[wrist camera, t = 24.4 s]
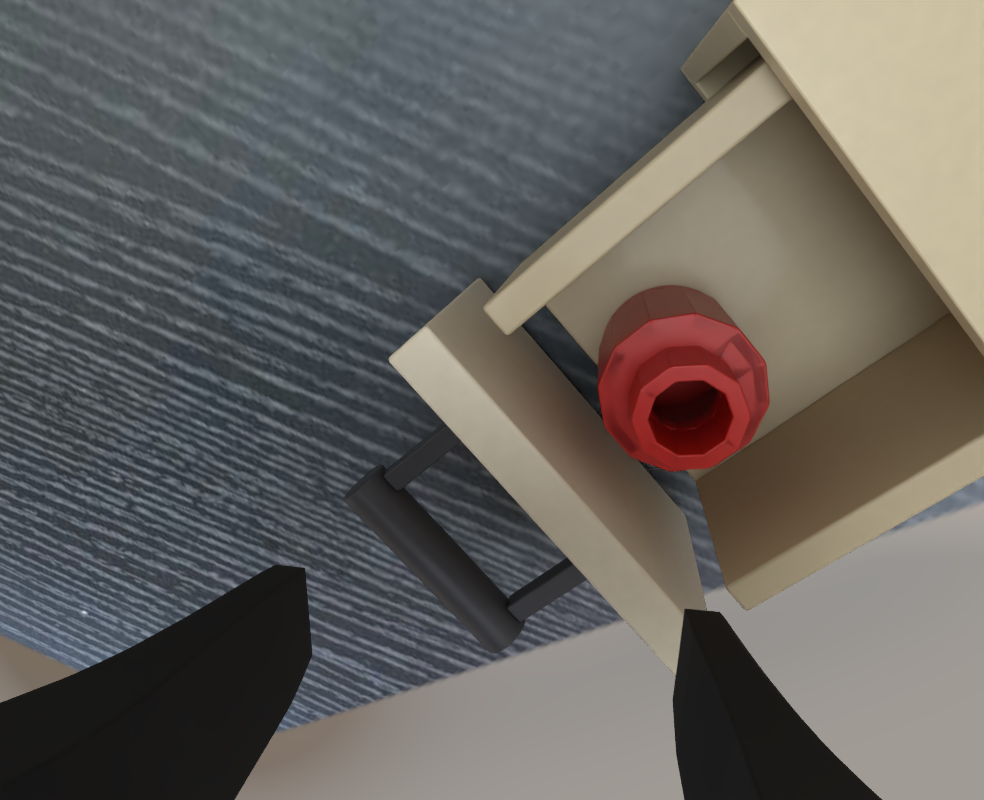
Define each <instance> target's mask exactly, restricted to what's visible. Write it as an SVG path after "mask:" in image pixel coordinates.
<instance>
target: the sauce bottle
mask: <svg viewBox="0 0 984 800" xmlns="http://www.w3.org/2000/svg"><path fill="white" fill-rule="evenodd" d="M598 394H599V400H600V406H601V412H602V418H603V424H604V426H605V428H606V430H607V431H608V432H609V433H610V434H611V435H612V436H613V438H614V439H615V440H616V441H617V442H618V443H619V445H620V446H621V447H622V448H623V449H624V450H625V451H626V453H627V454H628V455H629V456H630V457H632V458H634V459H637V460H639V461H642V462H645V463H648V464H650V465H653V466H656V467H658V468H661V469H664V470H667V471H671V472H673V471H682V470H690V469H708V468H711V467H713V466H715V465H717V464H719V463H720V462H722V461H723V460H725V459H726V458H728V457H729V456H731V455H732V454H734V453H735V452H737V451H738V450H740V449H741V448H743V447H744V446H746V445H747V444H749V442H750V441H751V440H752V438H753V436H754V434H755V432H756V430H757V428H758V426H759V425H760V423H761V421H762V419H763V417H764V415H765V413H766V411H767V409H768V407H769V403H770V398H769V387H768V375H767V364H766V362H765V360H764V358H763V357H762V356H761V355H760V353H759V352H758V351H757V350H756V348H755V347H754V346H753V345H752V343H751V342H750V341H749V340H748V338H747V337H746V336H745V335H744V333H743V332H742V331H741V330H740V328H739V327H738V326H737V325H736V324H735V322H734V321H733V320H732V319H731V318H730V316H729V315H728V314H727V313H726V312H725V310H724V309H723V308H722V307H721V305H720V304H719V303H718V302H717V301H716V299H714V298H713V297H710V296H707V295H706V294H704V293H702V292H700V291H698V290H695V289H692V288H689V287H684V286H676V285H667V286H658V287H654V288H650V289H647V290H645V291H642V292H640V293H638V294H636V295H634V296H633V297H631V298H630V299H628V300H627V301H626V302H625V303H623V304H622V305H621V306H620V307H619V308H618V309H617V311H616V312H615V313H614V314H613V316H612V317H611V319H610V320H609V322H608V324H607V326H606V328H605V331H604V334H603V337H602V341H601V344H600V346H599V361H598Z"/></svg>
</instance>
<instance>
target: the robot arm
mask: <svg viewBox="0 0 984 800" xmlns="http://www.w3.org/2000/svg"><path fill="white" fill-rule="evenodd" d="M311 657H312V645H311V633H310V622H309V610H308V598H307V587H306V575H305V568H300V567H291V566H282V565H274V566H272V567H270V568H269V569H267V570H265V571H263V572H261V573H259V574H258V575H256V576H254V577H253V578H251V579H249V580H247V581H246V582H244V583H242V584H241V585H239V586H237V587H236V588H234V589H233V590H231V591H229V592H228V593H226V594H224V595H223V596H221V597H219V598H218V599H216V600H214V601H213V602H211V603H209V604H208V605H206V606H204V607H203V608H201V609H199V610H197V611H196V612H194V613H192V614H191V615H189V616H187V617H186V618H184V619H182V620H180V621H178V622H177V623H175V624H173V625H171V626H169V627H168V628H166V629H164V630H162V631H160V632H158V633H157V634H155V635H153V636H151V637H149V638H147V639H146V640H144V641H142V642H140V643H138V644H136V645H135V646H133V647H131V648H129V649H127V650H125V651H123V652H121V653H119V654H117V655H115V656H112V657H110V658H108V659H106V660H104V661H102V662H100V663H97V664H95V665H93V666H91V667H89V668H86V669H84V670H82V671H80V672H78V673H75V674H73V675H71V676H69V677H66V678H64V679H61V680H59V681H56V682H53V683H51V684H48V685H46V686H43V687H40V688H38V689H35V690H33V691H30V692H27V693H25V694H22V695H20V696H17V697H15V698H12V699H9V700H7V701H4V702H1V703H0V800H235V798H236V796H237V795H238V793H239V791H240V789H241V788H242V786H243V785H244V783H245V781H246V779H247V778H248V776H249V774H250V773H251V771H252V769H253V768H254V766H255V764H256V763H257V761H258V759H259V758H260V756H261V754H262V753H263V751H264V749H265V748H266V746H267V744H268V743H269V741H270V739H271V738H272V736H273V734H274V733H275V731H276V729H277V727H278V726H279V724H280V722H281V721H282V719H283V717H284V715H285V714H286V712H287V710H288V708H289V707H290V705H291V703H292V701H293V699H294V697H295V694H296V692H297V690H298V688H299V685H300V683H301V681H302V679H303V676H304V674H305V671H306V669H307V666H308V664H309V662H310V659H311ZM673 712H674V727H675V741H676V754H677V760H678V766H679V772H680V777H681V783H682V788H683V794H684V799H685V800H882V799H881V798H879V796H877V795H876V794H875V793H874V792H873V791H872V790H871V789H870V788H869V787H868V786H866V785H865V784H864V783H863V782H862V781H861V780H860V779H859V778H858V777H857V776H856V775H855V774H854V773H853V772H852V771H851V770H850V769H849V768H848V767H847V766H846V765H845V764H843V762H842V761H840V760H839V758H837V757H836V756H835V755H834V753H833V752H831V750H830V749H829V748H828V747H827V746H826V745H825V744H824V743H823V742H822V741H821V740H820V739H819V738H818V737H817V735H816V734H815V733H814V732H813V731H812V730H811V729H810V728H809V726H808V725H807V724H806V723H805V722H804V721H803V720H802V719H801V718H800V716H799V715H798V714H797V713H796V712H795V711H794V709H793V708H792V707H791V706H790V704H789V703H788V702H787V701H786V699H785V698H784V697H783V696H782V694H781V693H780V692H779V691H778V690H777V688H776V687H775V686H774V685H773V683H772V682H771V681H770V679H769V678H768V677H767V676H766V674H765V673H764V672H763V670H762V669H761V668H760V667H759V666H758V664H757V662H756V661H755V660H754V658H753V657H752V656H751V654H750V653H749V652H748V650H747V649H746V648H745V646H744V645H743V643H742V642H741V640H740V639H739V638H738V636H737V635H736V633H735V632H734V631H733V629H732V628H731V626H730V625H729V624H728V622H727V620H726V619H725V618H724V617H723V615H722V614H721V613H720V612H714V611H704V610H695V609H684V617H683V625H682V632H681V640H680V648H679V656H678V663H677V671H676V679H675V687H674V695H673Z"/></svg>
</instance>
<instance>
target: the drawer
mask: <svg viewBox="0 0 984 800" xmlns="http://www.w3.org/2000/svg"><path fill="white" fill-rule="evenodd" d="M667 285H676V286H684V287H689V288H692V289H695V290H698V291H700V292H702V293H704V294H706V295H707V296H710V297H713V298H714V299H716V301H717V302H718V303H719V304H720V305H721V307H722V308H723V309H724V310H725V312H726V313H727V314H728V315H729V316H730V318H731V319H732V320H733V321H734V322H735V324H736V325H737V326H738V327H739V328H740V330H741V331H742V332H743V333H744V335H745V336H746V337H747V338H748V340H749V341H750V342H751V343H752V345H753V346H754V347H755V348H756V350H757V351H758V352H759V353H760V355H761V356H762V357H763V358H764V360H765V362H766V364H767V375H768V387H769V398H770V403H769V407H768V409H767V411H766V413H765V415H764V417H763V419H762V421H761V423H760V425H759V426H758V428H757V430H756V432H755V434H754V436H753V438H752V440H751V441H750V442H749V444H747V445H746V446H744V447H743V448H741V449H740V450H738V451H737V452H735V453H734V454H732V455H731V456H729V457H728V458H726V459H725V460H723V461H722V462H720V463H719V464H717V465H715V466H713V467H711V468H708V469H690V470H686V471H687V472H688V474H689V475H690V476H691V477H692V478H693V479H694V481H695V482H696V485H697V488H698V492H699V495H700V499H701V502H702V506H703V509H704V513H705V516H706V520H707V523H708V527H709V530H710V534H711V537H712V541H713V544H714V548H715V551H716V555H717V558H718V562H719V565H720V569H721V572H722V576H723V579H724V582H725V586H726V589H727V590H728V591H729V592H730V594H731V595H732V596H733V597H734V598H735V599H736V601H737V602H738V603H739V604H740V605H741V606H742V608H743V609H745V610H750V609H751V608H753V607H755V606H757V605H758V604H760V603H762V602H764V601H765V600H767V599H769V598H771V597H772V596H774V595H776V594H778V593H780V592H781V591H783V590H785V589H786V588H788V587H790V586H792V585H793V584H795V583H797V582H799V581H800V580H802V579H804V578H806V577H807V576H809V575H811V574H813V573H815V572H816V571H818V570H820V569H822V568H823V567H825V566H827V565H829V564H830V563H832V562H834V561H835V560H837V559H839V558H841V557H843V556H844V555H846V554H848V553H850V552H851V551H853V550H855V549H856V548H858V547H860V546H862V545H864V544H865V543H867V542H869V541H871V540H872V539H874V538H876V537H878V536H879V535H881V534H883V533H885V532H886V531H888V530H890V529H892V528H893V527H895V526H897V525H899V524H900V523H902V522H904V521H906V520H907V519H909V518H911V517H913V516H914V515H916V514H918V513H920V512H921V511H923V510H925V509H927V508H928V507H930V506H932V505H934V504H935V503H937V502H939V501H941V500H942V499H944V498H946V497H948V496H949V495H951V494H953V493H955V492H956V491H958V490H960V489H962V488H963V487H965V486H967V485H969V484H970V483H972V482H974V481H976V480H978V479H979V478H981V477H983V476H984V356H983V355H982V354H981V352H980V351H979V350H978V348H977V347H976V345H975V344H974V343H973V341H972V340H971V339H970V337H969V336H968V335H967V333H966V332H965V331H964V329H963V328H962V326H961V325H960V324H959V322H958V321H957V320H956V318H955V317H954V316H953V314H952V313H951V312H950V310H949V309H948V308H947V306H946V305H945V303H944V302H943V301H942V299H941V298H940V297H939V295H938V294H937V293H936V291H935V290H934V289H933V287H932V286H931V285H930V283H929V282H928V280H927V279H926V278H925V276H924V275H923V274H922V272H921V271H920V270H919V268H918V267H917V266H916V264H915V263H914V261H913V260H912V259H911V257H910V256H909V255H908V253H907V252H906V251H905V249H904V248H903V247H902V245H901V244H900V243H899V241H898V240H897V238H896V237H895V236H894V234H893V233H892V232H891V230H890V229H889V228H888V226H887V225H886V224H885V222H884V221H883V220H882V218H881V217H880V215H879V214H878V213H877V211H876V210H875V209H874V207H873V206H872V205H871V203H870V202H869V201H868V199H867V198H866V196H865V195H864V194H863V192H862V191H861V190H860V188H859V187H858V186H857V184H856V183H855V182H854V180H853V179H852V178H851V176H850V175H849V173H848V172H847V171H846V169H845V168H844V167H843V165H842V164H841V163H840V161H839V160H838V159H837V157H836V156H835V155H834V153H833V152H832V150H831V149H830V148H829V146H828V145H827V144H826V142H825V141H824V140H823V138H822V137H821V136H820V134H819V133H818V132H817V130H816V129H815V127H814V126H813V125H812V123H811V122H810V121H809V119H808V118H807V117H806V115H805V114H804V113H803V111H802V110H801V108H800V107H799V106H798V104H797V103H796V102H795V100H794V99H793V98H792V96H791V95H790V94H789V92H788V91H787V90H786V88H785V87H784V85H783V84H782V83H781V81H780V80H779V79H778V77H777V76H776V75H775V73H774V72H773V71H772V69H771V68H770V67H769V65H768V64H767V62H766V61H765V60H764V58H763V57H762V56H761V54H759V55H758V56H757V57H756V58H755V59H754V60H753V61H751V62H750V63H749V64H748V65H747V66H746V67H745V68H743V69H742V70H741V71H740V72H739V73H738V74H737V75H735V76H734V77H733V78H732V79H731V80H730V81H729V82H727V83H726V84H725V85H724V86H723V87H722V88H721V89H719V90H718V91H717V92H716V93H715V94H714V95H713V96H711V97H710V98H709V99H708V100H707V101H706V102H705V103H704V104H702V105H701V106H700V107H699V108H698V109H697V110H696V111H694V112H693V113H692V114H691V115H690V116H689V117H688V118H686V119H685V120H684V121H683V122H682V123H681V124H680V125H678V126H677V127H676V128H675V129H674V130H673V131H672V132H670V133H669V134H668V135H667V136H666V137H665V138H664V139H662V140H661V141H660V142H659V143H658V144H657V145H656V146H654V147H653V148H652V149H651V150H650V151H649V152H648V153H646V154H645V155H644V156H643V157H642V158H641V159H640V160H638V161H637V162H636V163H635V164H634V165H633V166H632V167H630V168H629V169H628V170H627V171H626V172H625V173H624V174H622V175H621V176H620V177H619V178H618V179H617V180H616V181H614V182H613V183H612V184H611V185H610V186H609V187H608V188H606V189H605V190H604V191H603V192H602V193H601V194H600V195H598V196H597V197H596V198H595V199H594V200H593V201H592V202H590V203H589V204H588V205H587V206H586V207H585V208H584V209H582V210H581V211H580V212H579V213H578V214H577V215H576V216H574V217H573V218H572V219H571V220H570V221H569V222H568V223H566V224H565V225H564V226H563V227H562V228H561V229H560V230H558V231H557V232H556V233H555V234H554V235H553V236H552V237H550V238H549V239H548V240H547V241H546V242H545V243H544V244H542V245H541V246H540V247H539V248H538V249H537V250H536V251H534V252H533V253H532V254H531V255H530V256H529V257H528V258H526V259H525V260H524V261H523V262H522V263H521V264H520V265H519V266H518V267H517V268H516V269H515V270H514V272H513V273H512V274H511V275H510V276H509V277H508V279H507V280H506V281H505V282H504V283H503V284H502V286H501V287H500V288H499V289H498V290H497V291H496V292H495V294H494V293H493V292H492V291H491V290H490V289H489V287H488V286H487V285H486V284H485V283H484V282H483V280H482V279H480V278H478V279H476V280H475V281H474V282H473V283H472V284H471V285H470V286H469V287H467V288H466V289H465V290H464V291H463V292H462V293H461V294H460V295H458V296H457V297H456V298H455V299H454V300H453V301H452V302H451V303H449V304H448V305H447V306H446V307H445V308H444V309H443V310H442V311H440V312H439V313H438V314H437V315H436V316H435V317H434V318H433V319H431V320H430V321H429V322H428V323H427V324H426V325H425V326H424V327H422V328H421V329H420V330H419V331H418V332H417V333H416V334H415V335H413V336H412V337H411V338H410V339H409V340H408V341H407V342H406V343H404V344H403V345H402V346H401V347H400V348H399V349H398V350H397V351H395V352H394V353H393V354H392V355H391V356H390V357H389V362H390V363H391V364H392V365H393V366H394V367H395V369H396V370H397V371H398V372H399V373H400V374H401V375H402V376H403V377H404V378H405V380H406V381H407V382H408V383H409V384H410V385H411V386H412V387H413V388H414V389H415V391H416V392H417V393H418V394H419V395H420V396H421V397H422V398H423V399H424V400H425V402H426V403H427V404H428V405H429V406H430V407H431V408H432V409H433V410H434V411H435V413H436V414H437V415H438V416H439V417H440V418H441V419H442V420H443V421H444V423H443V424H442V425H440V426H439V427H438V428H437V429H436V430H434V431H433V432H432V433H431V434H429V435H428V436H427V437H426V438H425V439H423V440H422V441H421V442H420V443H418V444H417V445H416V446H415V447H413V448H412V449H411V450H410V451H409V452H407V453H406V454H405V455H404V456H402V457H401V458H400V459H399V460H397V461H396V462H395V463H394V464H393V465H391V466H390V467H389V468H388V470H387V469H386V468H385V467H384V466H383V465H382V464H380V465H378V466H376V467H375V468H373V469H372V470H371V471H370V472H368V473H367V474H366V475H365V476H364V477H363V478H362V479H360V480H359V481H358V482H357V483H356V484H355V485H354V486H353V487H352V488H351V489H350V490H349V492H348V493H347V494H346V495H345V497H344V501H345V502H346V503H347V504H348V506H349V507H350V508H351V509H352V510H353V511H354V512H355V513H356V514H357V515H358V516H359V517H360V518H361V519H362V520H363V521H364V522H365V523H366V524H367V525H368V526H369V527H370V528H371V529H372V530H373V532H374V533H375V534H376V535H377V536H378V537H379V538H380V539H381V540H382V541H383V542H384V543H385V544H386V545H387V546H388V547H389V548H390V549H391V550H392V551H393V552H394V553H395V554H396V555H397V557H398V558H399V559H400V560H401V561H402V562H403V563H404V564H405V565H406V566H407V567H408V568H409V569H410V570H411V571H412V572H413V573H414V574H415V575H416V576H417V577H418V578H419V579H420V580H421V581H422V583H423V584H424V585H425V586H426V587H427V588H428V589H429V590H430V591H431V592H432V593H433V594H434V595H435V596H436V597H437V598H438V599H439V600H440V601H441V602H442V603H443V604H444V605H445V606H446V607H447V609H448V610H449V611H450V612H451V613H452V614H453V615H454V616H455V617H456V618H457V619H458V620H459V621H460V622H461V623H462V624H463V625H464V626H465V627H466V628H467V629H468V630H469V631H470V632H471V633H472V635H473V636H474V637H475V638H476V639H477V640H478V641H479V642H480V643H481V644H482V645H483V646H484V647H485V648H486V649H487V650H488V651H489V652H490V653H497V652H500V651H502V650H504V649H505V648H506V647H508V646H509V645H510V644H511V643H512V642H513V641H514V640H515V639H516V638H517V636H518V635H519V634H520V632H521V631H522V629H523V627H524V624H525V619H526V618H528V617H529V616H531V615H532V614H534V613H535V612H537V611H539V610H540V609H542V608H543V607H545V606H546V605H548V604H549V603H551V602H552V601H554V600H556V599H557V598H559V597H560V596H562V595H563V594H565V593H566V592H568V591H570V590H571V589H573V588H574V587H576V586H577V585H579V584H580V583H582V582H583V581H585V580H588V581H589V582H590V583H591V584H592V585H593V586H594V587H595V588H596V589H597V591H598V592H599V593H600V594H601V595H602V596H603V597H604V598H605V599H606V600H607V602H608V603H609V604H610V605H611V606H612V607H613V608H614V609H615V610H616V611H617V613H618V614H619V615H620V616H621V617H622V618H623V619H624V620H625V621H626V622H627V624H628V625H629V626H630V627H631V628H632V629H633V630H634V631H635V632H636V633H637V635H638V636H639V637H640V638H641V639H642V640H643V641H644V642H645V643H646V644H647V646H648V647H649V648H650V649H651V650H652V651H653V652H654V653H655V654H656V655H657V657H658V658H659V659H660V660H661V661H662V662H663V663H664V664H665V665H666V666H667V668H668V669H669V670H670V671H671V672H672V673H673V674H674V675H675V676H676V671H677V663H678V656H679V648H680V640H681V632H682V625H683V617H684V609H695V610H704V611H707V608H706V603H705V599H704V595H703V590H702V586H701V581H700V577H699V573H698V568H697V564H696V560H695V555H694V551H693V547H692V542H691V538H690V534H689V529H688V525H687V520H686V516H685V515H684V513H683V512H682V511H681V510H680V509H679V508H678V506H677V505H676V504H675V503H674V502H673V501H672V499H671V498H670V497H669V496H668V495H667V494H666V493H665V491H664V490H663V489H662V488H661V487H660V486H659V484H658V483H657V482H656V481H655V480H654V479H653V477H652V476H651V475H650V474H649V473H648V472H647V471H646V469H645V468H644V467H643V466H642V465H641V464H640V462H639V461H638V460H637V459H634V458H632V457H630V456H629V455H628V454H627V453H626V451H625V450H624V449H623V448H622V447H621V446H620V445H619V443H618V442H617V441H616V440H615V439H614V438H613V436H612V435H611V434H610V433H609V432H608V431H607V430H606V428H605V426H604V424H603V420H602V418H601V417H600V416H599V415H598V414H597V413H596V411H595V410H594V409H593V408H592V407H591V406H590V404H589V403H588V402H587V401H586V400H585V399H584V398H583V396H582V395H581V394H580V393H579V392H578V391H577V389H576V388H575V387H574V386H573V385H572V384H571V382H570V381H569V380H568V379H567V378H566V377H565V376H564V374H563V373H562V372H561V371H560V370H559V369H558V367H557V366H556V365H555V364H554V363H553V362H552V360H551V359H550V358H549V357H548V356H547V355H546V353H545V352H544V351H543V350H542V349H541V348H540V347H539V345H538V344H537V343H536V342H535V341H534V340H533V338H532V337H531V336H530V335H529V334H528V333H527V331H526V330H525V329H524V328H523V327H522V326H521V325H522V324H523V323H524V322H526V321H527V320H528V319H529V318H530V317H532V316H533V315H534V314H535V313H536V312H538V311H539V310H540V309H541V308H542V307H543V306H546V307H547V308H548V309H549V310H550V311H551V313H552V314H553V315H554V316H555V317H556V319H557V320H558V321H559V322H560V323H561V324H562V326H563V327H564V328H565V329H566V330H567V331H568V333H569V334H570V335H571V336H572V337H573V338H574V340H575V341H576V342H577V343H578V344H579V346H580V347H581V348H582V349H583V350H584V351H585V353H586V354H587V355H588V356H589V357H590V358H591V360H592V361H593V362H594V363H595V364H596V365H597V367H598V361H599V346H600V344H601V341H602V337H603V334H604V331H605V328H606V326H607V324H608V322H609V320H610V319H611V317H612V316H613V314H614V313H615V312H616V311H617V309H618V308H619V307H620V306H621V305H622V304H623V303H625V302H626V301H627V300H628V299H630V298H631V297H633V296H634V295H636V294H638V293H640V292H642V291H645V290H647V289H650V288H654V287H658V286H667ZM460 442H463V443H464V444H465V446H466V447H467V448H468V449H469V450H470V451H471V452H472V453H473V454H474V455H475V457H476V458H477V459H478V460H479V461H480V462H481V463H482V464H483V465H484V466H485V467H486V469H487V470H488V471H489V472H490V473H491V474H492V475H493V476H494V477H495V478H496V480H497V481H498V482H499V483H500V484H501V485H502V486H503V487H504V488H505V489H506V491H507V492H508V493H509V494H510V495H511V496H512V497H513V498H514V499H515V500H516V502H517V503H518V504H519V505H520V506H521V507H522V508H523V509H524V510H525V511H526V513H527V514H528V515H529V516H530V517H531V518H532V519H533V520H534V521H535V522H536V524H537V525H538V526H539V527H540V528H541V529H542V530H543V531H544V532H545V533H546V535H547V536H548V537H549V538H550V539H551V540H552V541H553V542H554V543H555V544H556V546H557V547H558V548H559V549H560V550H561V551H562V552H563V553H564V554H565V555H566V557H567V558H566V559H565V560H563V561H562V562H560V563H559V564H557V565H556V566H554V567H553V568H551V569H550V570H548V571H547V572H545V573H544V574H542V575H541V576H539V577H538V578H536V579H535V580H533V581H532V582H530V583H529V584H527V585H526V586H524V587H523V588H521V589H520V590H518V591H517V592H515V593H514V594H512V595H511V596H510V597H509V599H508V598H507V597H506V595H505V594H504V593H503V592H502V591H501V590H500V589H499V588H498V587H497V586H496V585H495V584H494V583H493V582H492V581H491V579H490V578H489V577H488V576H487V575H486V574H485V573H484V572H483V571H482V570H481V569H480V568H479V567H478V566H477V565H476V564H475V562H474V561H473V560H472V559H471V558H470V557H469V556H468V555H467V554H466V553H465V552H464V551H463V550H462V549H461V548H460V546H459V545H458V544H457V543H456V542H455V541H454V540H453V539H452V538H451V537H450V536H449V535H448V534H447V533H446V532H445V531H444V529H443V528H442V527H441V526H440V525H439V524H438V523H437V522H436V521H435V520H434V519H433V518H432V517H431V516H430V515H429V513H428V512H427V511H426V510H425V509H424V508H423V507H422V506H421V505H420V504H419V503H418V502H417V501H416V500H415V499H414V498H413V496H412V495H411V494H410V493H409V492H408V491H407V490H406V489H405V488H404V487H405V486H406V485H407V484H409V483H410V482H411V481H412V480H414V479H415V478H416V477H417V476H419V475H420V474H421V473H422V472H424V471H425V470H426V469H427V468H429V467H430V466H431V465H433V464H434V463H435V462H436V461H438V460H439V459H440V458H441V457H443V456H444V455H445V454H446V453H448V452H449V451H450V450H451V449H453V448H454V447H455V446H457V445H458V444H459V443H460Z"/></svg>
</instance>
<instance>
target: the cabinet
mask: <svg viewBox="0 0 984 800" xmlns="http://www.w3.org/2000/svg"><path fill="white" fill-rule="evenodd" d="M759 54H761V56H762V57H763V58H764V60H765V61H766V62H767V64H768V65H769V67H770V68H771V69H772V71H773V72H774V73H775V75H776V76H777V77H778V79H779V80H780V81H781V83H782V84H783V85H784V87H785V88H786V90H787V91H788V92H789V94H790V95H791V96H792V98H793V99H794V100H795V102H796V103H797V104H798V106H799V107H800V108H801V110H802V111H803V113H804V114H805V115H806V117H807V118H808V119H809V121H810V122H811V123H812V125H813V126H814V127H815V129H816V130H817V132H818V133H819V134H820V136H821V137H822V138H823V140H824V141H825V142H826V144H827V145H828V146H829V148H830V149H831V150H832V152H833V153H834V155H835V156H836V157H837V159H838V160H839V161H840V163H841V164H842V165H843V167H844V168H845V169H846V171H847V172H848V173H849V175H850V176H851V178H852V179H853V180H854V182H855V183H856V184H857V186H858V187H859V188H860V190H861V191H862V192H863V194H864V195H865V196H866V198H867V199H868V201H869V202H870V203H871V205H872V206H873V207H874V209H875V210H876V211H877V213H878V214H879V215H880V217H881V218H882V220H883V221H884V222H885V224H886V225H887V226H888V228H889V229H890V230H891V232H892V233H893V234H894V236H895V237H896V238H897V240H898V241H899V243H900V244H901V245H902V247H903V248H904V249H905V251H906V252H907V253H908V255H909V256H910V257H911V259H912V260H913V261H914V263H915V264H916V266H917V267H918V268H919V270H920V271H921V272H922V274H923V275H924V276H925V278H926V279H927V280H928V282H929V283H930V285H931V286H932V287H933V289H934V290H935V291H936V293H937V294H938V295H939V297H940V298H941V299H942V301H943V302H944V303H945V305H946V306H947V308H948V309H949V310H950V312H951V313H952V314H953V316H954V317H955V318H956V320H957V321H958V322H959V324H960V325H961V326H962V328H963V329H964V331H965V332H966V333H967V335H968V336H969V337H970V339H971V340H972V341H973V343H974V344H975V345H976V347H977V348H978V350H979V351H980V352H981V354H982V355H983V356H984V0H733V1H732V2H731V3H730V5H729V6H728V7H727V9H726V10H725V11H724V13H723V14H722V15H721V16H720V18H719V19H718V20H717V22H716V23H715V24H714V25H713V27H712V28H711V29H710V31H709V32H708V33H707V34H706V36H705V37H704V38H703V40H702V41H701V42H700V43H699V45H698V46H697V47H696V49H695V50H694V51H693V52H692V54H691V55H690V56H689V58H688V59H687V60H686V62H685V63H684V64H683V66H682V67H681V71H682V73H683V74H684V75H685V77H686V78H687V79H688V81H689V82H690V83H691V84H692V86H693V87H694V88H695V90H696V91H697V92H698V94H699V95H700V96H701V98H702V99H703V100H704V102H706V101H707V100H708V99H709V98H710V97H711V96H713V95H714V94H715V93H716V92H717V91H718V90H719V89H721V88H722V87H723V86H724V85H725V84H726V83H727V82H729V81H730V80H731V79H732V78H733V77H734V76H735V75H737V74H738V73H739V72H740V71H741V70H742V69H743V68H745V67H746V66H747V65H748V64H749V63H750V62H751V61H753V60H754V59H755V58H756V57H757V56H758V55H759Z"/></svg>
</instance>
